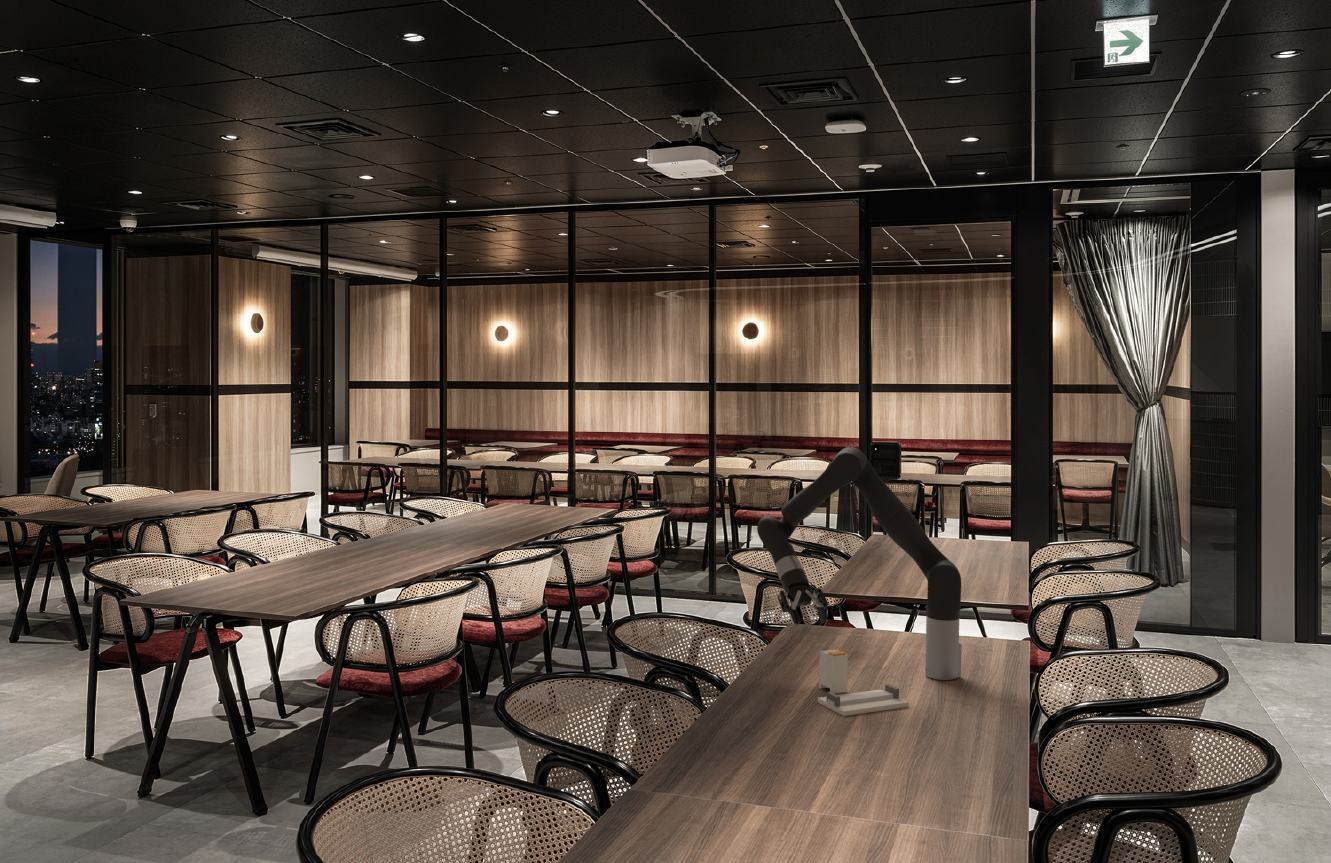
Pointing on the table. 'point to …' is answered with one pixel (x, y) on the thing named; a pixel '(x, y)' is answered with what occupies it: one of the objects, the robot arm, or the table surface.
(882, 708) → the mounting board
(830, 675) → the rail module
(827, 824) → the table surface
